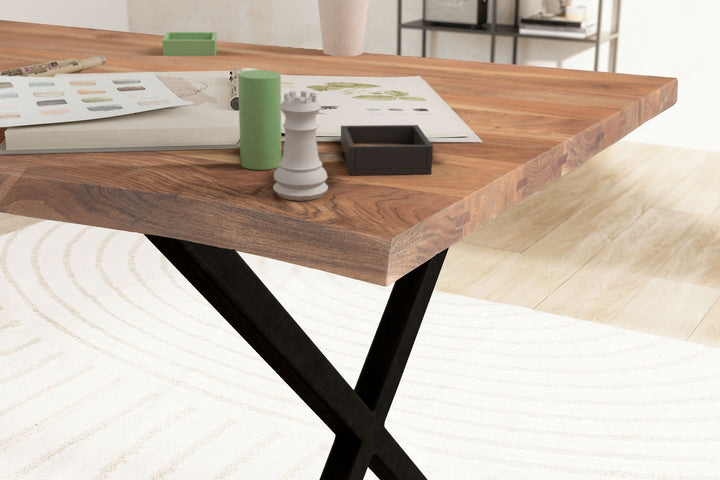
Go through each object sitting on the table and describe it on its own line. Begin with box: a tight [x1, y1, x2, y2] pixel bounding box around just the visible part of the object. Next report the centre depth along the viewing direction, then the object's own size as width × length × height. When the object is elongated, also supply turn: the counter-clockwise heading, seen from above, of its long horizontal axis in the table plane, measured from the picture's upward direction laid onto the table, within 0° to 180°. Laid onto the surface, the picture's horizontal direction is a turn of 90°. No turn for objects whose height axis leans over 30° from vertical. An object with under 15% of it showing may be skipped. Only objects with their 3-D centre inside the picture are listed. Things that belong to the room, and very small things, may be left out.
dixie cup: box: [317, 0, 370, 57], centre depth 128 cm, size 8×8×10 cm
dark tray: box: [340, 124, 434, 176], centre depth 79 cm, size 7×7×2 cm
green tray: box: [161, 31, 218, 57], centre depth 127 cm, size 7×7×2 cm
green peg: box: [237, 69, 283, 171], centre depth 77 cm, size 4×4×8 cm
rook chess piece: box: [272, 90, 329, 202], centre depth 70 cm, size 4×4×8 cm
